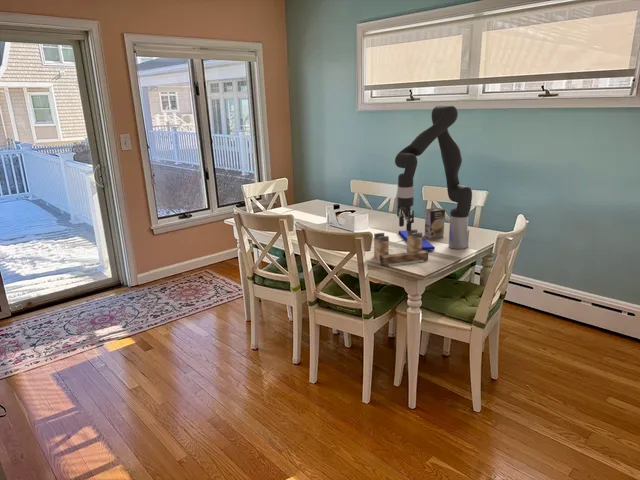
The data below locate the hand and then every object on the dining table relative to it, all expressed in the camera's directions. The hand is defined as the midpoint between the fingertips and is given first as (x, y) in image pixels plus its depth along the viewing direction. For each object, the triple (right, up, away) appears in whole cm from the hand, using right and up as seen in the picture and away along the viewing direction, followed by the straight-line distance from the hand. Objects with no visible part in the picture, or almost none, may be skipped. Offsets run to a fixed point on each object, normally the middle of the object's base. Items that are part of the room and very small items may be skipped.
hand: (405, 228), depth 215 cm
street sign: (+13, -7, +35) cm, 38 cm away
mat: (+1, -16, +5) cm, 17 cm away
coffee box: (+25, -4, +43) cm, 50 cm away
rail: (+1, -16, +5) cm, 17 cm away
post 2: (+7, -13, +15) cm, 21 cm away
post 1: (-10, -15, +11) cm, 21 cm away
